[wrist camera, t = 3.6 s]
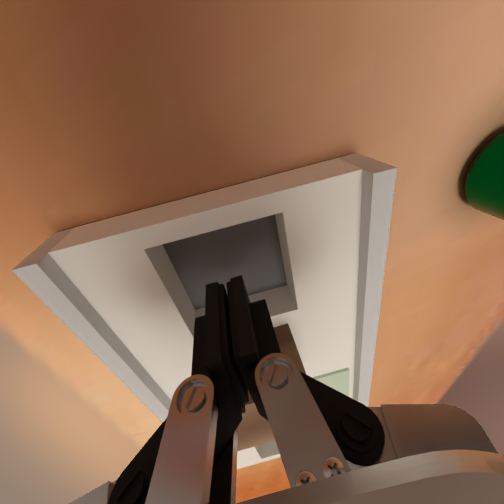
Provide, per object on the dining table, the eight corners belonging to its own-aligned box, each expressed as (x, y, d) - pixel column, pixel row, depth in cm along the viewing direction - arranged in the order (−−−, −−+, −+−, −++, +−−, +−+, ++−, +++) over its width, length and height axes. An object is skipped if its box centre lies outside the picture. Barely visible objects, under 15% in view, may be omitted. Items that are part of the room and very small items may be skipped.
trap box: (55, 232, 12) (11, 270, 9) (355, 152, 12) (397, 167, 10) (220, 446, 29) (222, 482, 26) (348, 410, 29) (363, 443, 26)
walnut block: (210, 344, 15) (211, 414, 12) (288, 323, 15) (311, 387, 12) (231, 385, 18) (236, 451, 14) (296, 366, 18) (317, 428, 14)
